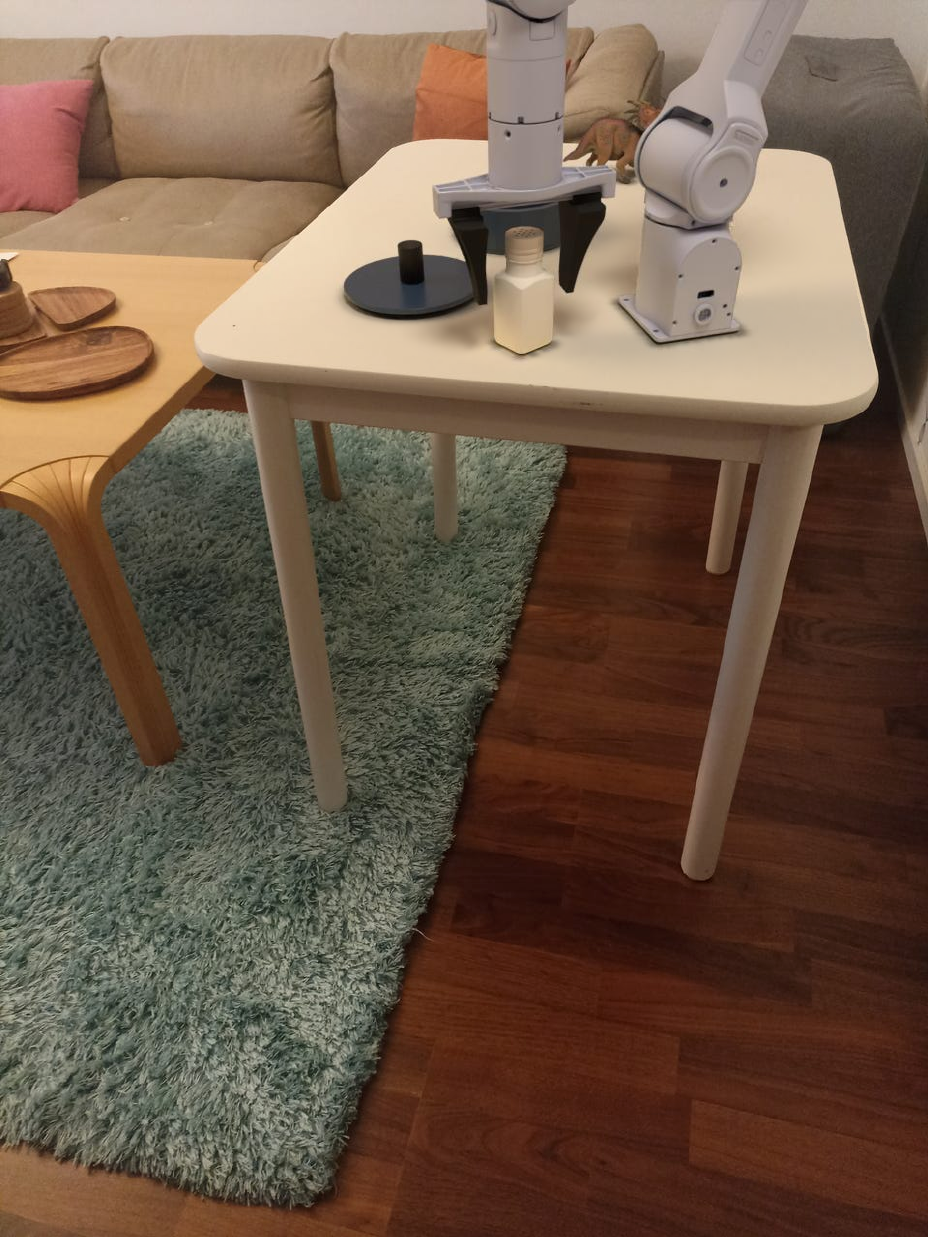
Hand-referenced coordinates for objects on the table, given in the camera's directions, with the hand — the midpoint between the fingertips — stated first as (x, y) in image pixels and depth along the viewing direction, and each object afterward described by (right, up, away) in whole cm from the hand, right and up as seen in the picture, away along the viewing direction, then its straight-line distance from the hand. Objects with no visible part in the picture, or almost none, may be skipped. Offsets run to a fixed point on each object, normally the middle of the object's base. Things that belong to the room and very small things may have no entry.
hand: (523, 294), depth 73 cm
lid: (-10, +5, +12) cm, 17 cm away
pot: (+1, +16, +23) cm, 28 cm away
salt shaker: (0, -3, +3) cm, 5 cm away
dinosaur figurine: (+14, +29, +37) cm, 49 cm away
